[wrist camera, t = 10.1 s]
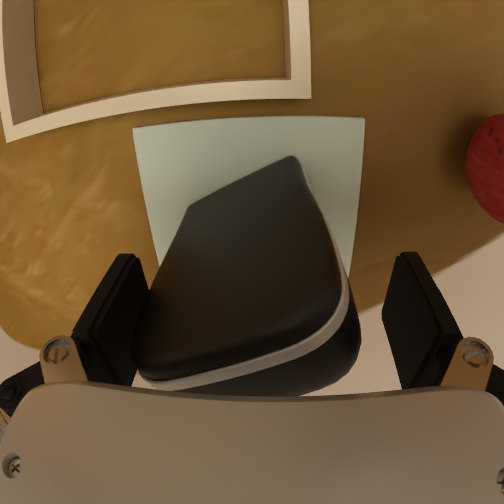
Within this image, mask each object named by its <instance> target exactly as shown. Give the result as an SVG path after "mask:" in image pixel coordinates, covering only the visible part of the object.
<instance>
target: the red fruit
mask: <svg viewBox="0 0 504 504" xmlns="http://www.w3.org/2000/svg"><path fill="white" fill-rule="evenodd" d="M466 170H467V178H468V183H469V185H470V188H471V190H472V193H473V195H474V198H475V199H476V201H477V202H478V203H479V205H480V206H481V207H482V208H483V209H484V210H485V211H486V212H487V213H488V214H489V215H490V216H491V217H492V218H494V219H496V220H498V221H499V222H502V223H504V114H502V115H494V116H492V117H490V118H488V119H487V120H486V121H485V122H484V123H483V124H481V125H480V126H479V127H478V128H477V129H476V131H475V133H474V135H473V137H472V139H471V141H470V143H469V148H468V152H467V157H466Z"/></svg>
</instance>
